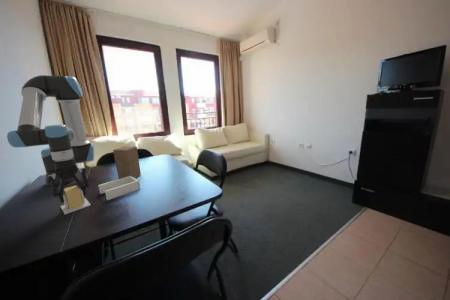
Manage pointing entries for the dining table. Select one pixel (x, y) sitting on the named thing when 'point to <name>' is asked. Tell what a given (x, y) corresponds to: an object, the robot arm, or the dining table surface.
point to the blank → (73, 197)
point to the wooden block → (127, 162)
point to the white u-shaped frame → (119, 187)
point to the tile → (75, 208)
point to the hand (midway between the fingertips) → (75, 204)
